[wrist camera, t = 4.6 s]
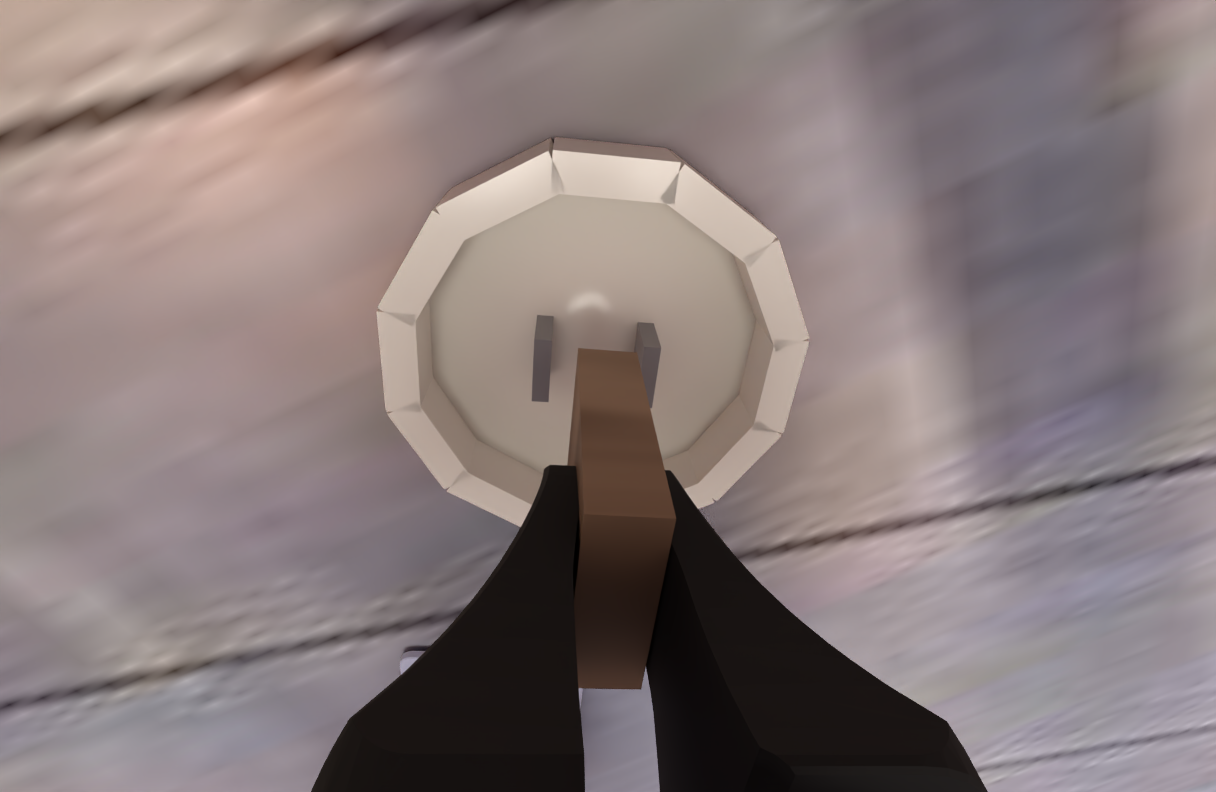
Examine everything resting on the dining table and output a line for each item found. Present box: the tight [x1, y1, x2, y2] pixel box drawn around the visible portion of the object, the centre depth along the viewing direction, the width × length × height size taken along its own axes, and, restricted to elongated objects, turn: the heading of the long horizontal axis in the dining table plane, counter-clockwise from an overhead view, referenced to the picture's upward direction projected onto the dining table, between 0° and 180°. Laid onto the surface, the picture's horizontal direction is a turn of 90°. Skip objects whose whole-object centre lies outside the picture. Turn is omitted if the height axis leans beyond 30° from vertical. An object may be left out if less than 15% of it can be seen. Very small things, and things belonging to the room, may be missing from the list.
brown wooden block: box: [567, 348, 676, 689], centre depth 13 cm, size 4×1×6 cm, turn 174°
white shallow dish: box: [376, 137, 809, 527], centre depth 19 cm, size 12×12×2 cm
